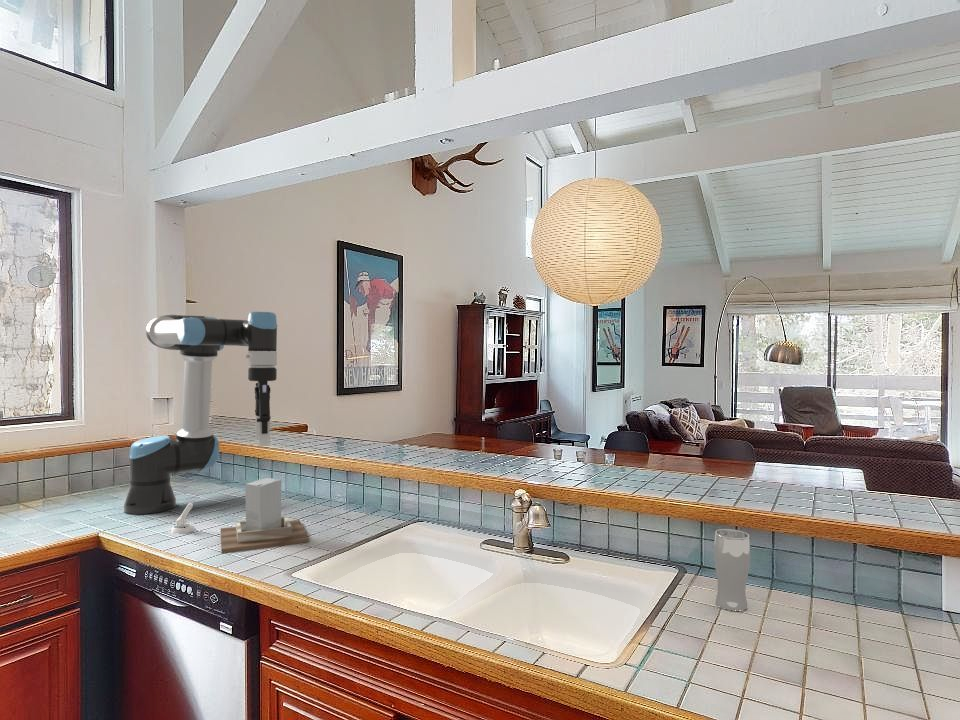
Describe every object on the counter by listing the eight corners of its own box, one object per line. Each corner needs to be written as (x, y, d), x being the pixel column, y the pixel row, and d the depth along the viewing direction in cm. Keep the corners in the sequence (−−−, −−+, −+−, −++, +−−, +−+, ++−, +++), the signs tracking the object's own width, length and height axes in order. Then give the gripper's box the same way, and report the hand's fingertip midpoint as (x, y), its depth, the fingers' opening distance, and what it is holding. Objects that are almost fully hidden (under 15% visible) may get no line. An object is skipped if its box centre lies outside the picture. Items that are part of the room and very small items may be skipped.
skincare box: (266, 528, 172) (266, 477, 172) (282, 530, 170) (282, 478, 169) (244, 536, 164) (244, 482, 164) (260, 539, 162) (260, 484, 162)
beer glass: (707, 599, 126) (708, 528, 126) (738, 598, 126) (739, 528, 126) (723, 613, 119) (724, 539, 119) (756, 612, 119) (757, 538, 119)
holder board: (220, 531, 172) (220, 519, 172) (299, 523, 181) (299, 511, 181) (221, 552, 153) (221, 539, 153) (308, 542, 163) (308, 529, 162)
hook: (201, 519, 170) (183, 508, 168) (183, 545, 171) (165, 535, 170) (209, 508, 176) (191, 498, 174) (191, 534, 177) (174, 524, 176)
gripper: (245, 365, 177) (245, 436, 177) (250, 368, 154) (250, 449, 154) (272, 365, 180) (272, 435, 180) (281, 368, 157) (280, 447, 157)
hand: (262, 442), depth 167 cm, fingers open, 13 cm apart
